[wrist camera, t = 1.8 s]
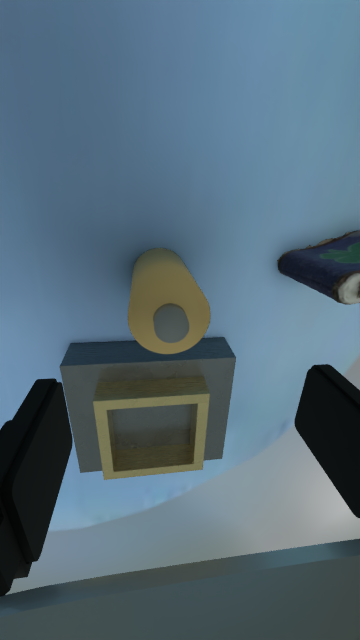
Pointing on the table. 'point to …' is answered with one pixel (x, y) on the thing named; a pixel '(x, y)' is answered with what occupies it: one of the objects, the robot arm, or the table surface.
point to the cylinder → (166, 304)
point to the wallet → (327, 267)
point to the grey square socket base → (147, 406)
